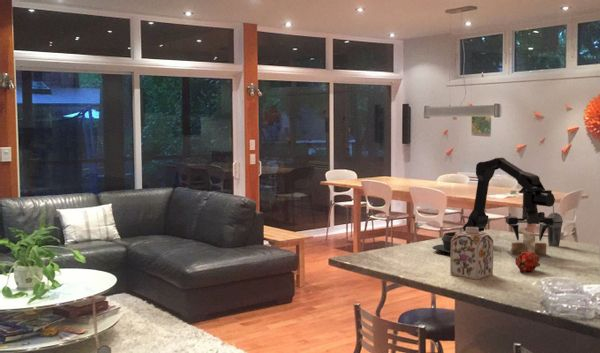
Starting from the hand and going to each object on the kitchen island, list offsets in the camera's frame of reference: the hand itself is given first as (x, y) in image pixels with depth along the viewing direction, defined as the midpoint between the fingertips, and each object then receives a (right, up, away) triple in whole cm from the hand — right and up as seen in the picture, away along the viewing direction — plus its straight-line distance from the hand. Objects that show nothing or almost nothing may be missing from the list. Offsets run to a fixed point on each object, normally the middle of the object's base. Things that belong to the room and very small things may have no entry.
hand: (528, 240), depth 268 cm
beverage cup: (+19, -5, +21) cm, 29 cm away
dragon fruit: (-11, -9, -28) cm, 32 cm away
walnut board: (0, -6, 0) cm, 6 cm away
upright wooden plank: (0, -6, 0) cm, 6 cm away
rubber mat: (0, -7, +1) cm, 7 cm away
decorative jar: (-34, -10, -34) cm, 49 cm away
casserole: (-28, -7, +7) cm, 29 cm away
